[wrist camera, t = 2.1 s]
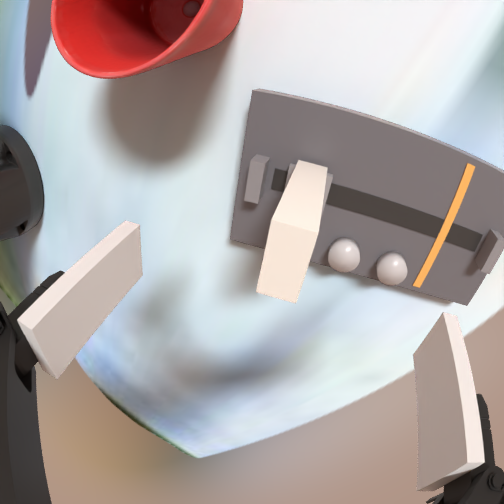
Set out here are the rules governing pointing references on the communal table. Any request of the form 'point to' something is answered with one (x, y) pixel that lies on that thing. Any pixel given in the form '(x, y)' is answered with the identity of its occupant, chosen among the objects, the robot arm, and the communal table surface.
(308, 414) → the communal table surface
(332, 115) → the console
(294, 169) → the fader tab
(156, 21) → the flower pot
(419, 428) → the robot arm
